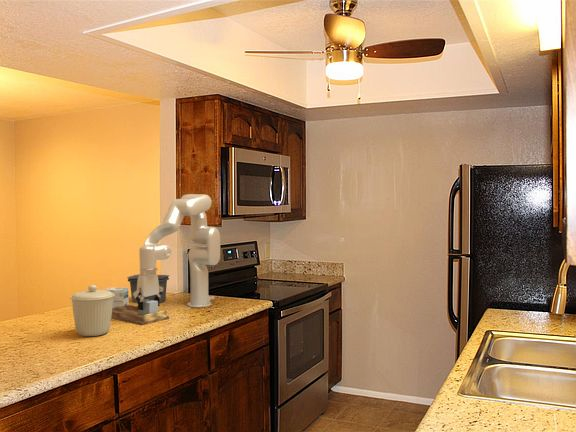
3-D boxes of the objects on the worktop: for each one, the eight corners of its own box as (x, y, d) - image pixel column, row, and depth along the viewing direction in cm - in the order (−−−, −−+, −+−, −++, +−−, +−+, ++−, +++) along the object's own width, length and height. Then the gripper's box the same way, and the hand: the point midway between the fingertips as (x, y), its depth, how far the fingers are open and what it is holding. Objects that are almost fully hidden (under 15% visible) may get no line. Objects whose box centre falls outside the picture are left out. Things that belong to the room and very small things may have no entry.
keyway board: (129, 310, 279) (129, 302, 279) (169, 318, 262) (169, 310, 261) (102, 316, 266) (102, 307, 266) (142, 325, 249) (142, 316, 248)
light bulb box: (129, 307, 287) (129, 287, 286) (124, 310, 280) (123, 289, 279) (109, 307, 288) (109, 286, 287) (104, 310, 281) (103, 289, 280)
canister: (81, 328, 243) (80, 281, 242) (121, 328, 243) (120, 281, 242) (63, 339, 225) (62, 288, 224) (106, 339, 225) (105, 288, 224)
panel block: (147, 315, 263) (146, 299, 262) (158, 317, 258) (157, 301, 258) (138, 317, 259) (138, 300, 258) (149, 319, 254) (149, 302, 254)
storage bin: (124, 303, 298) (124, 277, 298) (138, 297, 313) (138, 273, 313) (161, 305, 294) (160, 278, 293) (173, 299, 309) (172, 274, 308)
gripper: (157, 268, 267) (157, 303, 268) (127, 273, 253) (128, 310, 254) (167, 270, 262) (168, 305, 263) (138, 275, 248) (139, 312, 249)
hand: (148, 307), depth 259 cm, fingers open, 9 cm apart
